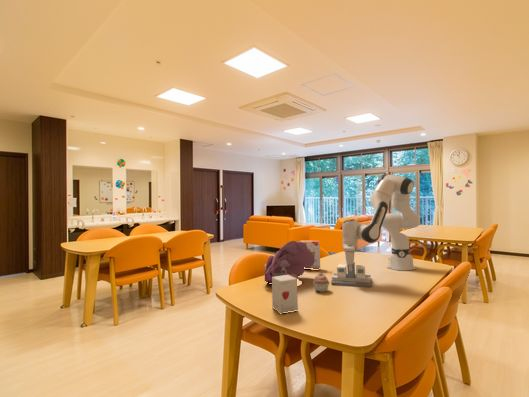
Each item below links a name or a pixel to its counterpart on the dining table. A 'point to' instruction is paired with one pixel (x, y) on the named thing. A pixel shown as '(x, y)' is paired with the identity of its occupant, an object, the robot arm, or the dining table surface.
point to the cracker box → (313, 252)
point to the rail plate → (343, 279)
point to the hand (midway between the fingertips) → (351, 269)
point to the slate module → (351, 273)
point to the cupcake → (321, 283)
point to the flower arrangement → (289, 261)
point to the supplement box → (284, 293)
